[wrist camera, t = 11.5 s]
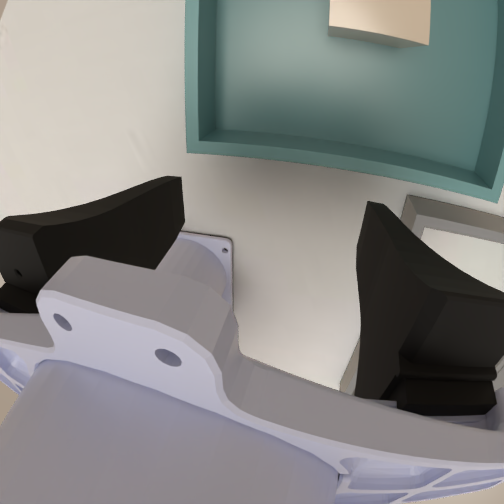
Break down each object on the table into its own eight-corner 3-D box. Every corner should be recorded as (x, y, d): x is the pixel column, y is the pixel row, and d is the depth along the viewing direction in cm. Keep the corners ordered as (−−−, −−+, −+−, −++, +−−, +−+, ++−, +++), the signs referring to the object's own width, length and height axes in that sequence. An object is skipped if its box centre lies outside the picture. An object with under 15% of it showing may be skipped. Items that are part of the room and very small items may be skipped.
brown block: (399, 48, 15) (428, 45, 10) (327, 35, 16) (328, 25, 11) (402, -15, 12) (430, -38, 7) (329, -27, 13) (330, -59, 8)
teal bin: (477, 182, 18) (497, 203, 16) (206, 138, 22) (186, 152, 19) (499, -60, 7) (520, -71, 4) (213, -107, 10) (195, -126, 7)
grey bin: (459, 390, 32) (463, 409, 29) (339, 382, 34) (338, 404, 32) (559, 234, 18) (574, 253, 16) (407, 194, 21) (416, 214, 18)
